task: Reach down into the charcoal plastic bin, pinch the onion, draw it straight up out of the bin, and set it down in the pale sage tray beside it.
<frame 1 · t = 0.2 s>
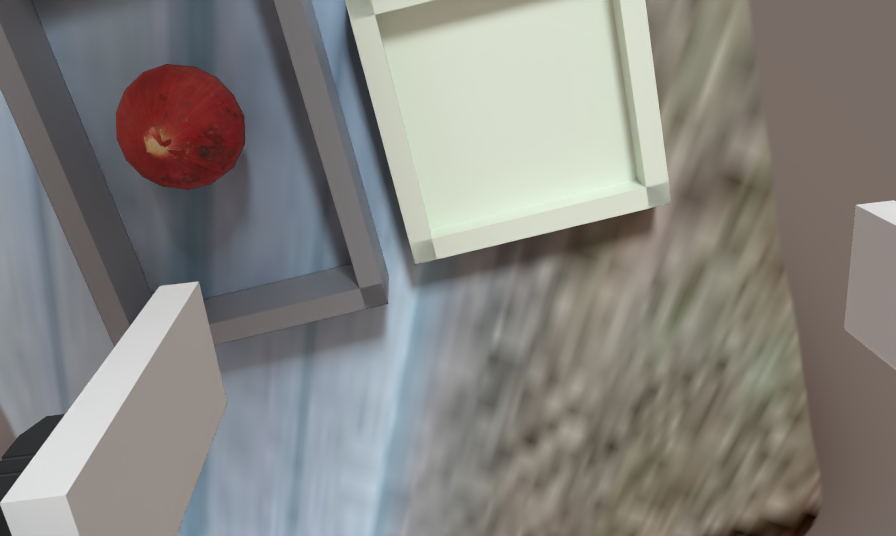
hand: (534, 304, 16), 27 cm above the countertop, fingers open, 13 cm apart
tray: (510, 97, 41), on the countertop
bin: (199, 114, 41), on the countertop
onion: (200, 113, 41), resting in bin
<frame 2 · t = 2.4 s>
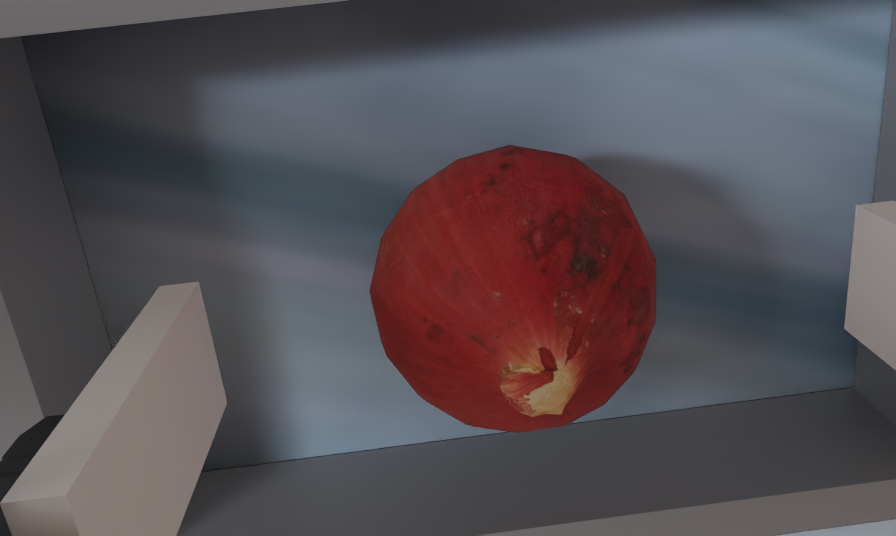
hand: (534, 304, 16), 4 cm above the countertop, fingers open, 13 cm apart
bin: (490, 231, 20), on the countertop
onion: (489, 228, 20), resting in bin
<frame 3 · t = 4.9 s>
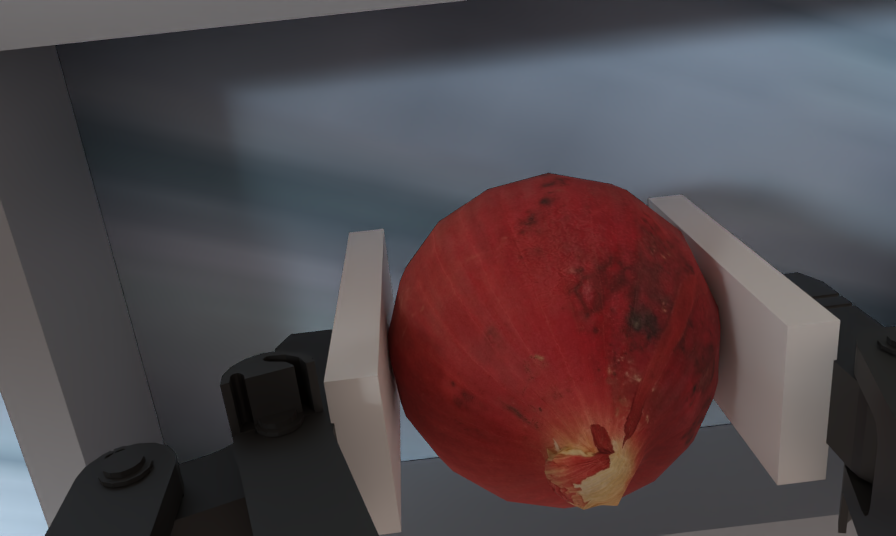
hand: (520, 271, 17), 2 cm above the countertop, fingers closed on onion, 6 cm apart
bin: (522, 242, 19), on the countertop
onion: (518, 261, 18), point 2 cm above the countertop, touching gripper
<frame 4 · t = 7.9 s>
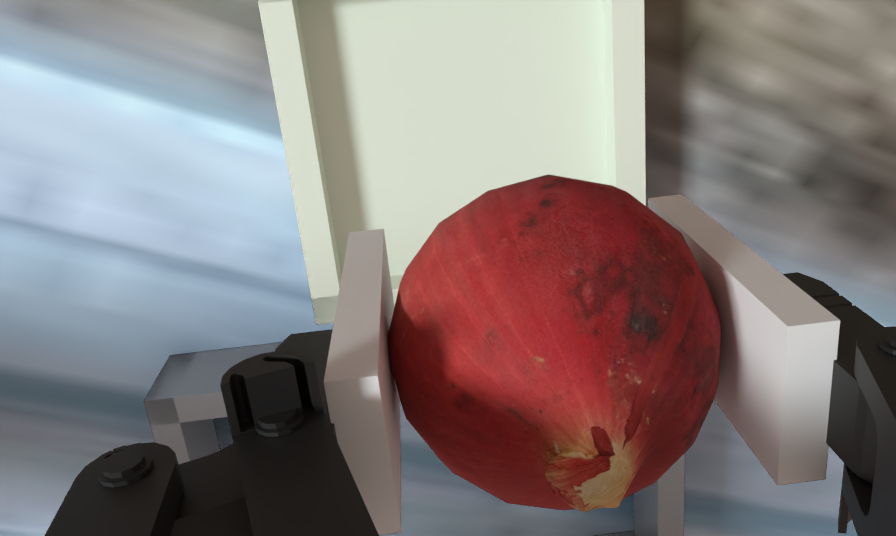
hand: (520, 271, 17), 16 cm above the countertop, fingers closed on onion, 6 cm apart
tray: (461, 128, 33), on the countertop
bin: (431, 457, 38), on the countertop
onion: (518, 262, 18), point 16 cm above the countertop, touching gripper
when the fingers open (2 cm above the countertop, at t = 11.1 s): onion stays where it is, resting on tray.
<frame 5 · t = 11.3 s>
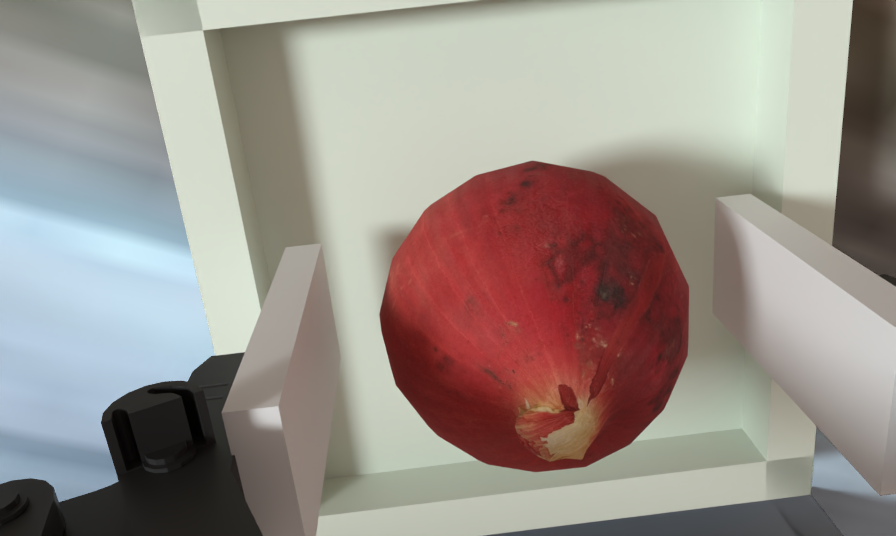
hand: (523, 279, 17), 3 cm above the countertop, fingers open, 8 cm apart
tray: (506, 237, 20), on the countertop
onion: (510, 248, 19), point 1 cm above the countertop, touching tray
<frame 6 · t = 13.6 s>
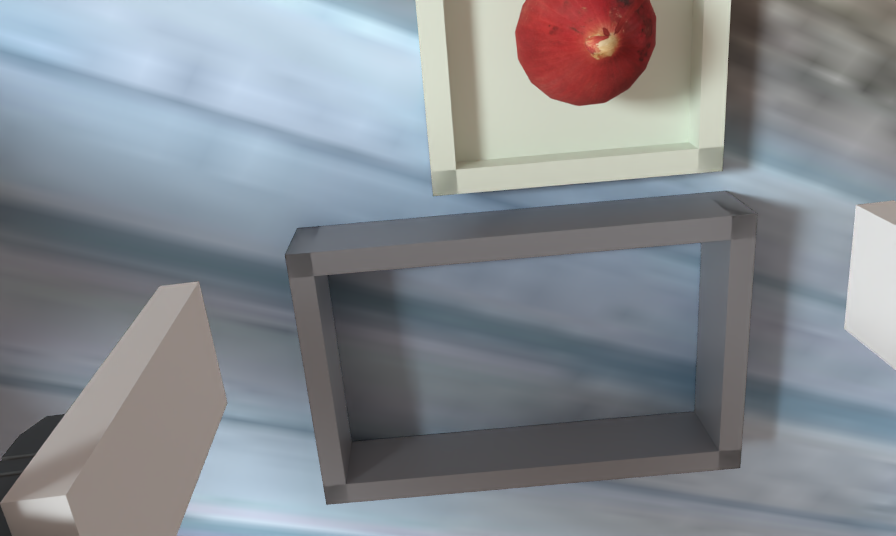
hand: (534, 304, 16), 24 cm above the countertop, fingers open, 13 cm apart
tray: (565, 28, 37), on the countertop
bin: (518, 333, 43), on the countertop
onion: (567, 29, 37), point 1 cm above the countertop, touching tray
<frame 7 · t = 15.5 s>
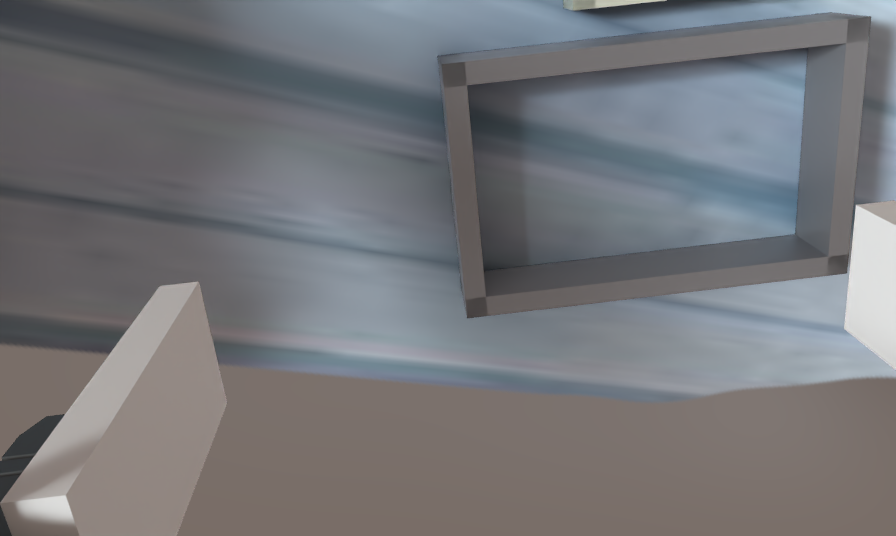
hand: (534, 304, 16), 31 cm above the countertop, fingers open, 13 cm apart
bin: (636, 159, 46), on the countertop
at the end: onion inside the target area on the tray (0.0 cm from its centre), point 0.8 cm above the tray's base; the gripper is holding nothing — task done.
